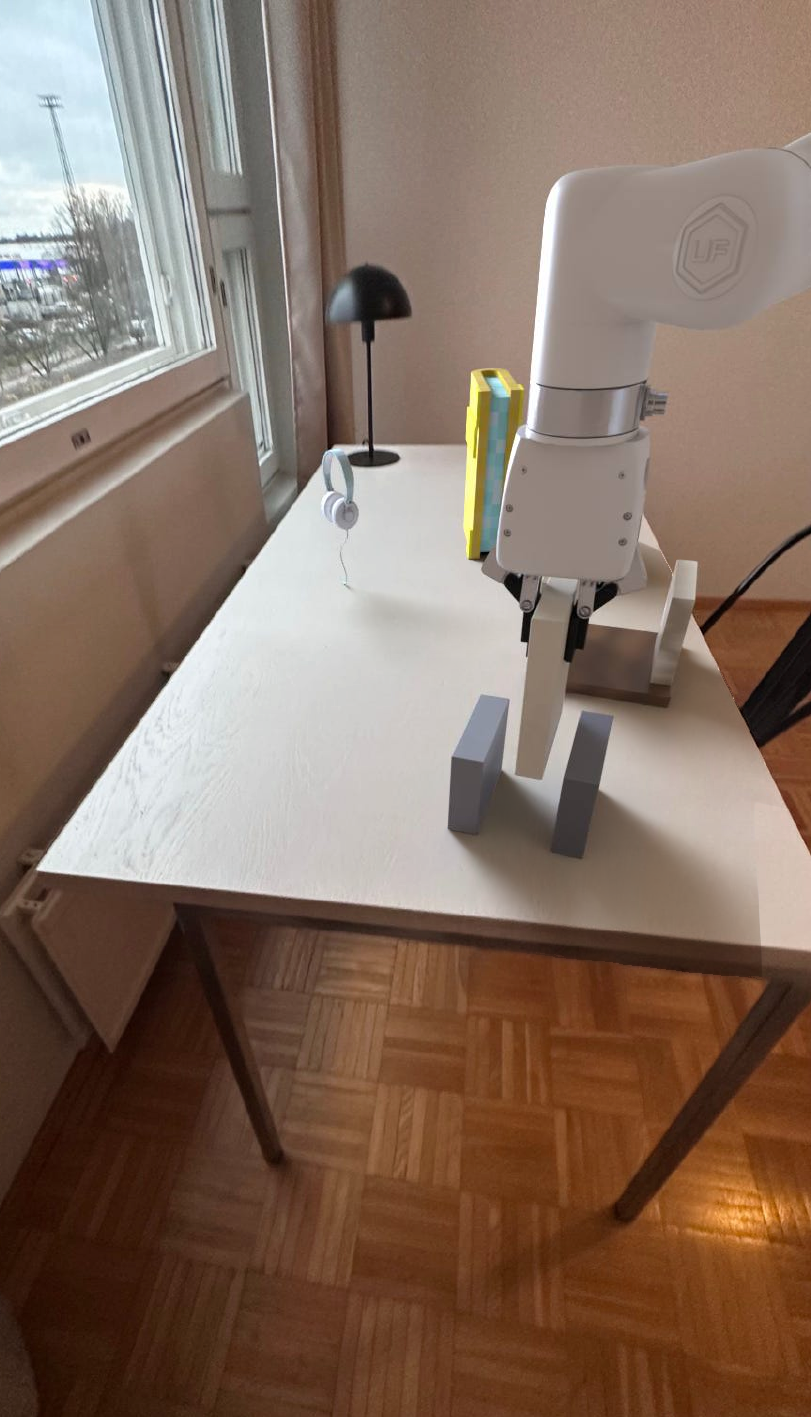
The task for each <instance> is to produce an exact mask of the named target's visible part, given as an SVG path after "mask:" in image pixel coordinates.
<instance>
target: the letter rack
mask: <svg viewBox="0 0 811 1417" xmlns="http://www.w3.org/2000/svg"><path fill="white" fill-rule="evenodd" d="M698 567H699V561H696V560H686V559H676V561H675V565H674V570H673V574H672V577H671V581H670V584H669V589H668V593H667V597H666V600H665V605H664V609H663V612H662V616H661V619H660V624H659V628H658V632H657V631H656V632H655V631H650V630H643V629H634V628H625V627H620V626H619V627H618V626H611V625H604V624H603V625H601V624H596V623H589V624H588V630H587V636H586V641H585V646H584V649H583V650H581V649H576V650H575V654H574V657H573V660H572V663H569V670H568V676H567V683H566V689H565V693H571V694H576V695H577V694H578V695H583V696H589V697H590V696H591V697H595V698H596V697H597V698H602V699H608V700H616V701H620V702H621V701H622V702H628V703H634V704H642V705H648V706H652V707H653V706H655V707H659V708H660V707H661V708H666V709H667V708H668V707H669V704H670V702H671V697H672V688H673V680H674V677H675V674H676V669H677V667H678V663H679V659H680V656H681V652H682V649H683V646H684V642H685V638H686V634H687V631H688V627H689V624H690V621H691V617H692V614H693V610H694V607H695V603H696V598H697V597H696V596H697V585H698V584H697V582H698V569H699V568H698ZM549 578H550V577H545V576H543V580H542V586H541V592H540V593H541V595H542V594H543V591H544V589H545V587H546V584H547V582H548V580H549Z"/></svg>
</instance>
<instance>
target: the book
mask: <svg viewBox="0 0 811 1417" xmlns="http://www.w3.org/2000/svg"><path fill="white" fill-rule="evenodd" d="M524 396H525V388H524V387H523V385H522V384H521V383H517V382H516V380H515V378H514V377H513V376H512V374H511V373H510V372H509V371H508V369H505V368H499V367H485V368H477V369H474V370H472V371H471V373H470V392H469V406H467V407H466V408H467V409H466V426H465V427H466V428H465V431H466V432H465V440H466V441H465V442H466V443H467V448H466V449H467V452H466V466H465V467H466V468H465V470H466V471H465V486H464V487H465V489H464V507H463V508H464V510H463V525H462V527H463V532H464V536H465V540H466V545H465V551H466V556H467V560H478V559H479V560H480V558H481V553H483V552H490V551H491V549H492V547H493V545H494V543H495V542H496V540H497V536H498V527H499V520H500V513H501V506H502V499H503V493H504V487H505V481H506V475H507V470H508V465H509V460H510V456H511V452H512V448H513V444H514V440H515V437H516V434H517V431H518V428H519V427H520V426H522V419H523V418H522V417H523V410H524V409H523V407H524V399H525V398H524Z"/></svg>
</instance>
